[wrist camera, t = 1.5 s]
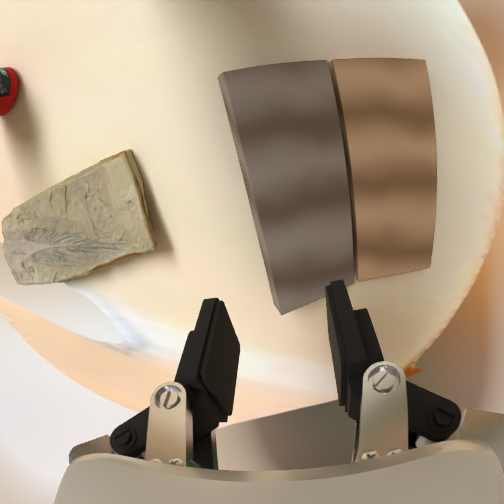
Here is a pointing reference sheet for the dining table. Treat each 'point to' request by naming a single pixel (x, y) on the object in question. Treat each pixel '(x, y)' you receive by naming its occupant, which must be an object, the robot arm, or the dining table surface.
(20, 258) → the stone slab
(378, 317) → the dining table surface
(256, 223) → the smoked oak plank
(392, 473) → the robot arm
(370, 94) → the walnut board
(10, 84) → the beverage can
